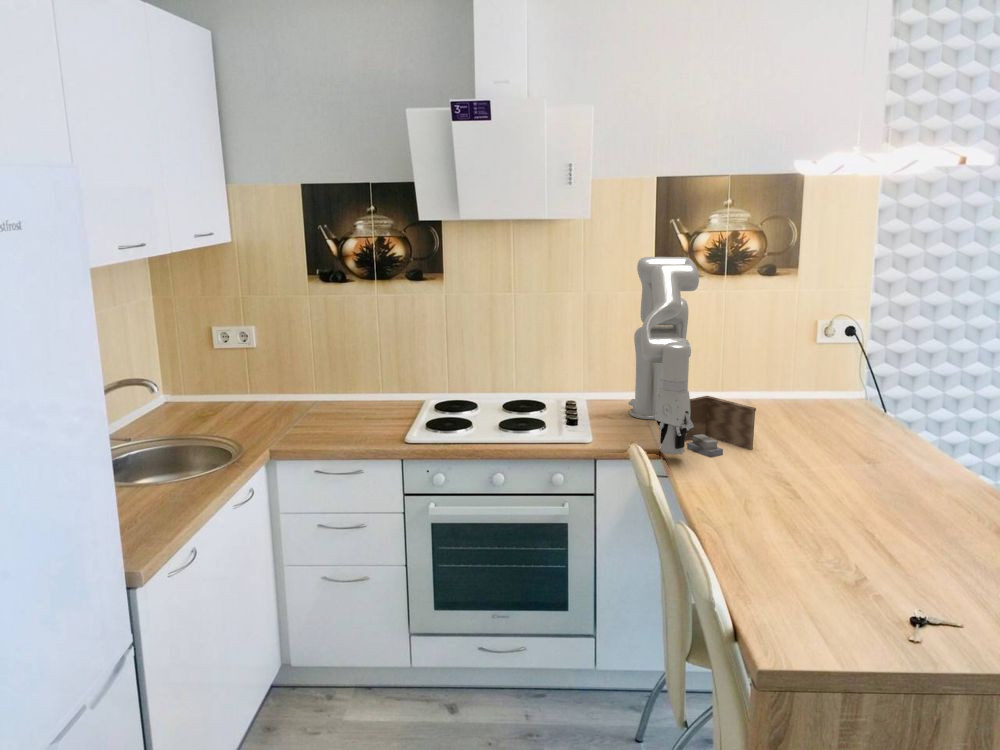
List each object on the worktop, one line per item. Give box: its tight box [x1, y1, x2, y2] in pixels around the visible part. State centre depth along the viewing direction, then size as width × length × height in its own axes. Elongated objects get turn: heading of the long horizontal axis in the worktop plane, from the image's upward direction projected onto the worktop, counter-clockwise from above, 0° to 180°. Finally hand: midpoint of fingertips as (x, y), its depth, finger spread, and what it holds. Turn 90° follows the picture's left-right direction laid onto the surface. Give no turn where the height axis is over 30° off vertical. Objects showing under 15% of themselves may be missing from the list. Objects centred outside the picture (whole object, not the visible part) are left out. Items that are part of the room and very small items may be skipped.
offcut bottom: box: [686, 441, 724, 458], centre depth 260 cm, size 10×5×2 cm, turn 32°
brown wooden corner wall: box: [680, 395, 757, 451], centre depth 264 cm, size 19×18×13 cm
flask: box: [659, 424, 685, 455], centre depth 251 cm, size 7×7×10 cm
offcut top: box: [692, 434, 718, 450], centre depth 260 cm, size 8×4×2 cm, turn 19°
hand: (672, 444), depth 251 cm, fingers closed on flask, 5 cm apart
